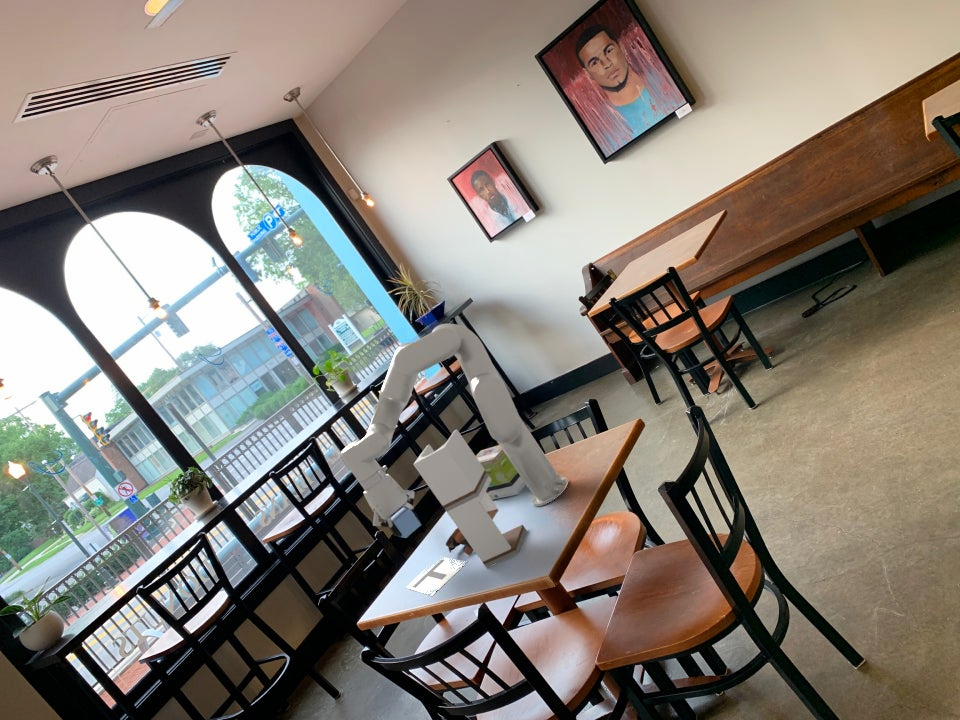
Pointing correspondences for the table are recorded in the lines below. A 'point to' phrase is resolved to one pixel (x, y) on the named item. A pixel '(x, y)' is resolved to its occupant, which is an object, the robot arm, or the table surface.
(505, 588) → the table surface
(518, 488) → the tea box
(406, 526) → the slate blue cube
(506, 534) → the notched white pillar
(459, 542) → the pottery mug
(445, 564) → the letter mat
